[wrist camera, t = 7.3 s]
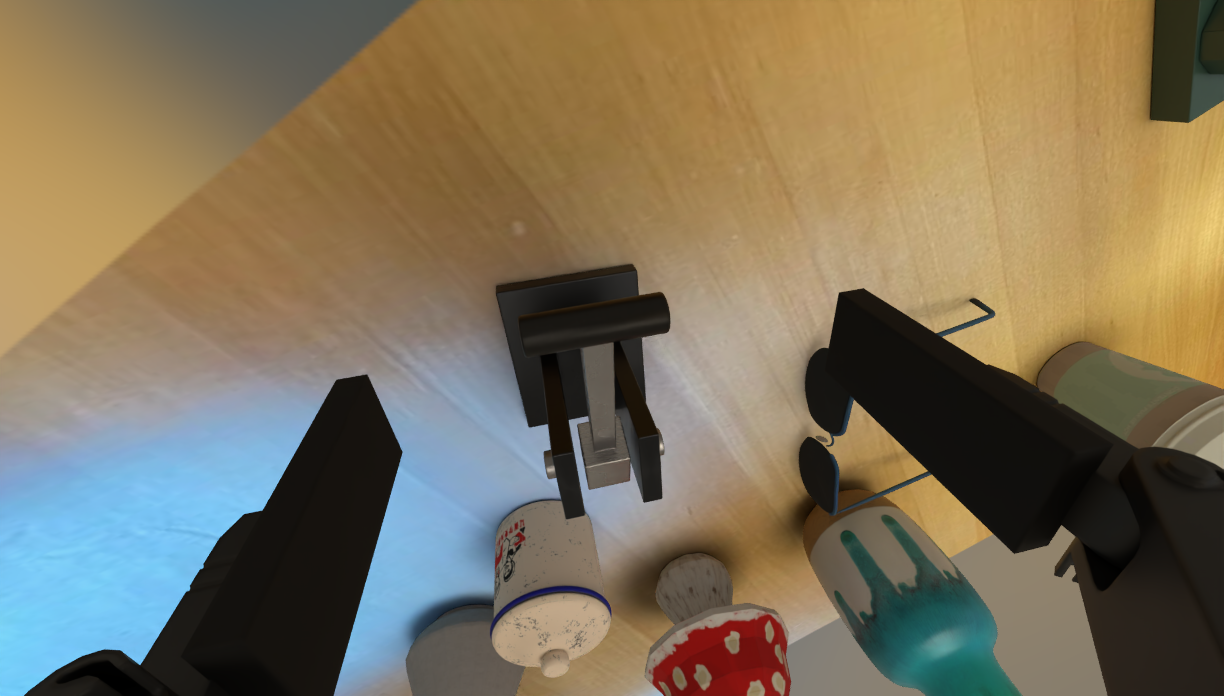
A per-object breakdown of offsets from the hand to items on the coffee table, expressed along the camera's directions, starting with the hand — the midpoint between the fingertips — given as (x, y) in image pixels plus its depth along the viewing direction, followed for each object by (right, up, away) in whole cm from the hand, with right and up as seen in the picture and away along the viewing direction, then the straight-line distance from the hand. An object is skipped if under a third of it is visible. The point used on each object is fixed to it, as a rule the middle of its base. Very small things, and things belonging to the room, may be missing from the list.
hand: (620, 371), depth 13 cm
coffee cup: (+43, -1, +32) cm, 54 cm away
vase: (+23, -16, +36) cm, 46 cm away
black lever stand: (-3, +1, +20) cm, 20 cm away
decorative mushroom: (+8, -23, +37) cm, 44 cm away
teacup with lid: (-7, -17, +30) cm, 35 cm away
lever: (-1, -1, +8) cm, 8 cm away
